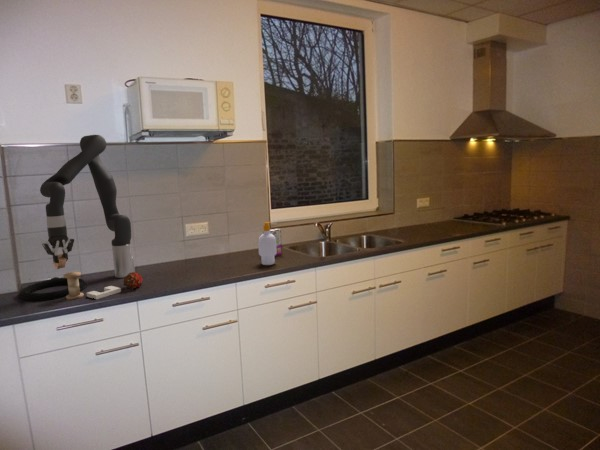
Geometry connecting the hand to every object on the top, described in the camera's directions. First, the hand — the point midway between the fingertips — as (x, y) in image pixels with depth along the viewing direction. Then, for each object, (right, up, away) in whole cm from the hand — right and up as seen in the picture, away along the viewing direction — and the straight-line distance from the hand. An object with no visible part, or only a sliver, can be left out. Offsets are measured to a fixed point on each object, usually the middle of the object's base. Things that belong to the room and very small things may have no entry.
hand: (60, 262), depth 187 cm
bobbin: (+8, -16, -3) cm, 18 cm away
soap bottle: (+93, -5, +46) cm, 104 cm away
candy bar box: (+94, -2, +66) cm, 115 cm away
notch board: (+20, -15, 0) cm, 25 cm away
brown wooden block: (-2, -2, +2) cm, 3 cm away
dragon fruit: (+30, -13, +9) cm, 34 cm away
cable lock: (-8, -15, +8) cm, 19 cm away
